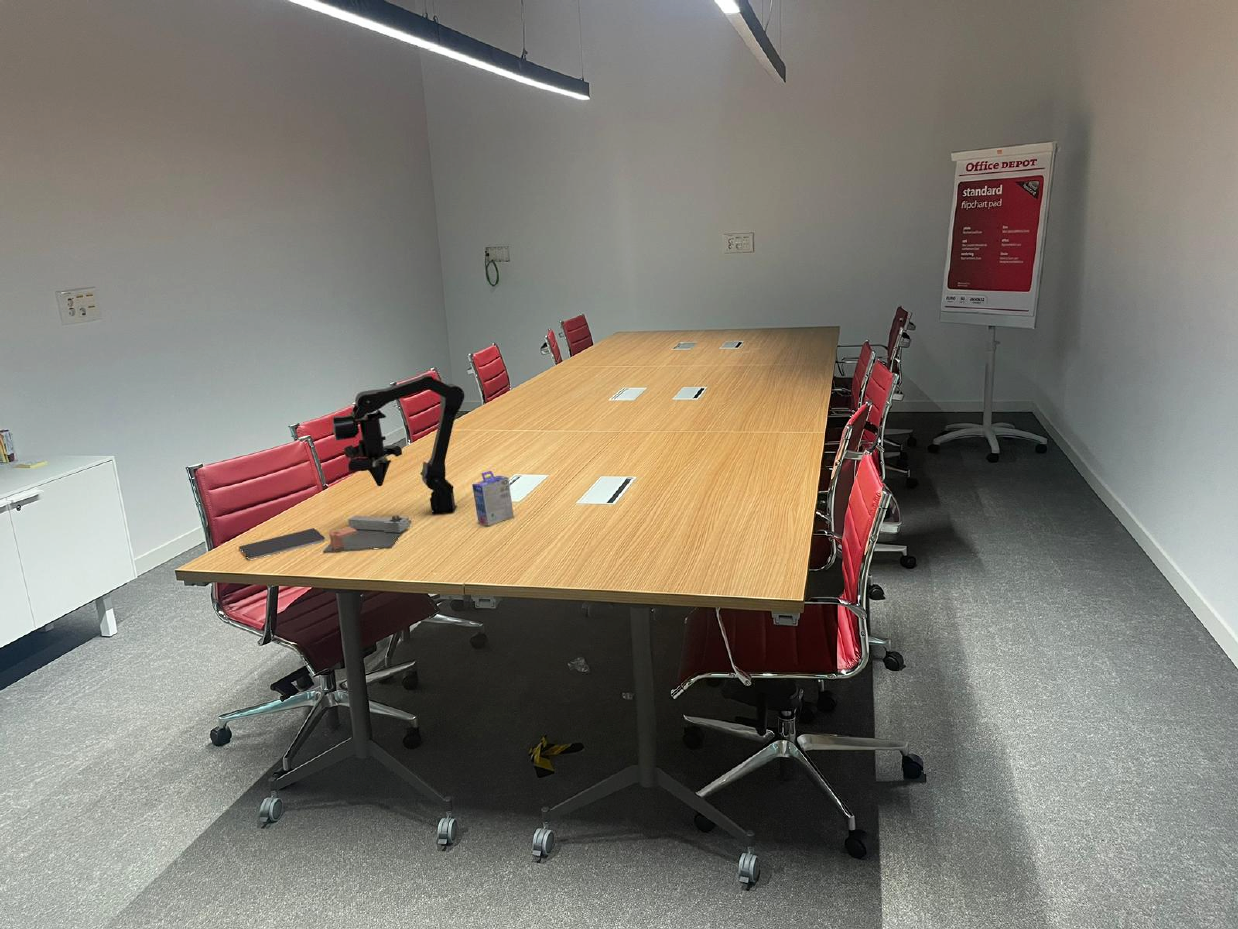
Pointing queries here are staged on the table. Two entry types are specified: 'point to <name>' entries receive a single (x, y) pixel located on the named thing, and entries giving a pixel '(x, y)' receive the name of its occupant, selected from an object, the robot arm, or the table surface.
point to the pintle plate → (368, 539)
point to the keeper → (340, 536)
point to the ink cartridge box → (492, 499)
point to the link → (379, 523)
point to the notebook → (282, 543)
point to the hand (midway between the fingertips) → (380, 485)
